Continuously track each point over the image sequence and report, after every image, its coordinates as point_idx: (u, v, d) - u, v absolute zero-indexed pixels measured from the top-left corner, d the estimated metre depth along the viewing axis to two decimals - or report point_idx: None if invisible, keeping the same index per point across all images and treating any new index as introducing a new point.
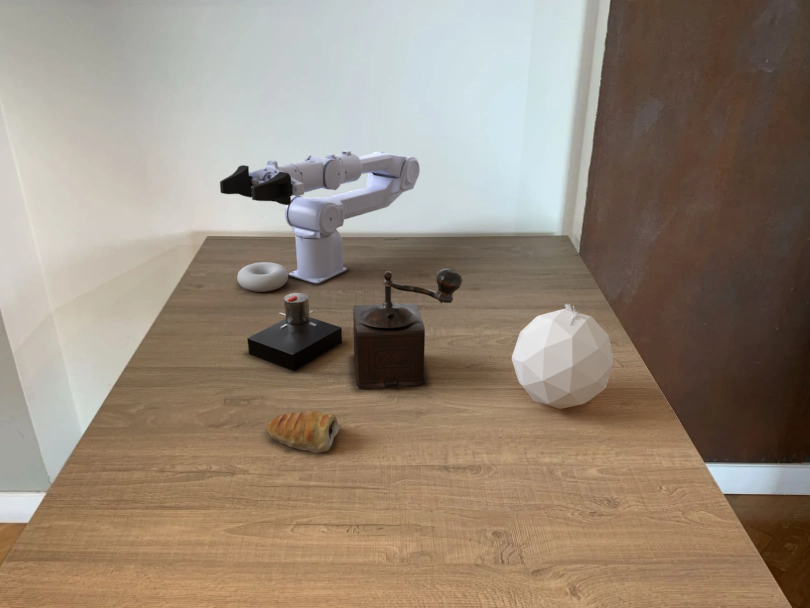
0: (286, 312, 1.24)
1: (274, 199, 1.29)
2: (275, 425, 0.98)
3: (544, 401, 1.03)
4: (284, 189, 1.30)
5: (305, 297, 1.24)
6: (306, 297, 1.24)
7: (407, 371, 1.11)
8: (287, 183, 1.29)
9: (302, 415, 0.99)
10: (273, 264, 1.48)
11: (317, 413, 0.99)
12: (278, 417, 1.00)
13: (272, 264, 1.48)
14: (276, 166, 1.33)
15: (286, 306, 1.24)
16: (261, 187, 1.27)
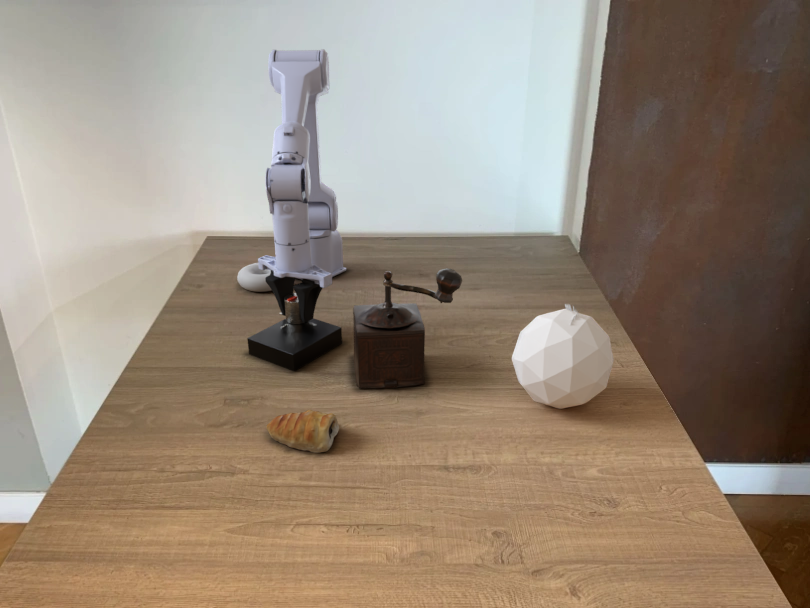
0: (286, 312, 1.24)
1: (317, 297, 1.23)
2: (275, 425, 0.98)
3: (544, 401, 1.03)
4: None
5: None
6: None
7: (407, 371, 1.11)
8: (310, 290, 1.20)
9: (302, 415, 0.99)
10: None
11: (317, 413, 0.99)
12: (278, 417, 1.00)
13: None
14: (285, 275, 1.19)
15: (286, 306, 1.24)
16: (305, 314, 1.23)
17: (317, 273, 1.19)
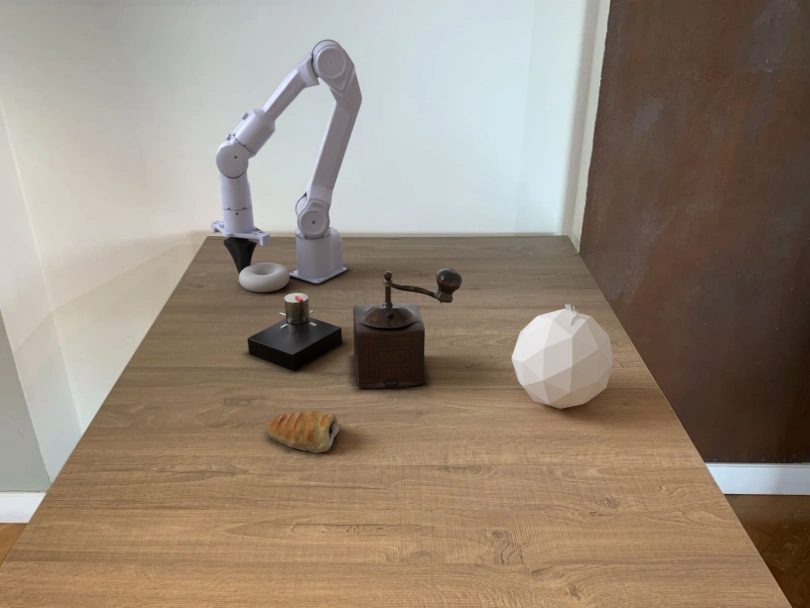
0: (298, 314, 1.24)
1: (252, 253, 1.48)
2: (275, 425, 0.98)
3: (544, 401, 1.03)
4: None
5: (300, 294, 1.25)
6: (300, 293, 1.26)
7: (407, 371, 1.11)
8: (245, 246, 1.45)
9: (302, 415, 0.99)
10: (275, 265, 1.48)
11: (317, 413, 0.99)
12: (278, 417, 1.00)
13: (274, 265, 1.48)
14: (231, 235, 1.43)
15: (299, 308, 1.23)
16: (242, 267, 1.48)
17: (258, 234, 1.43)
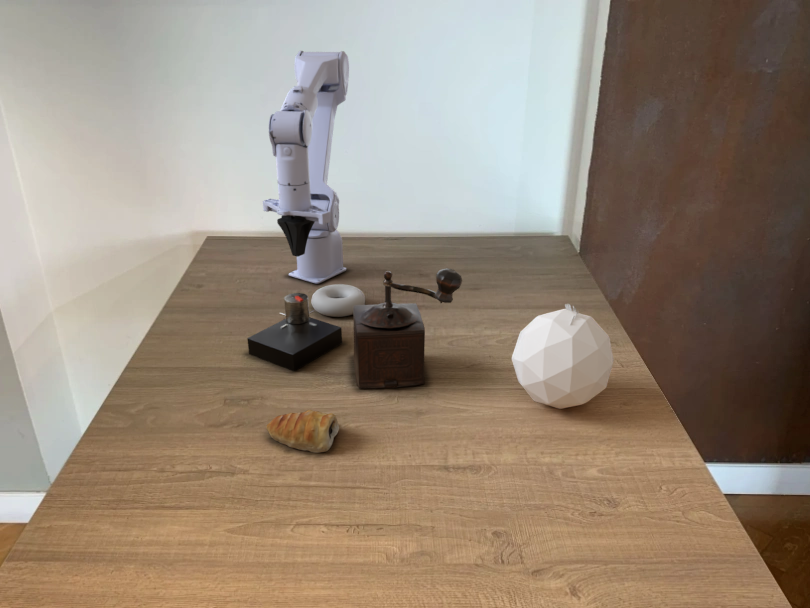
0: (298, 314, 1.24)
1: (308, 233, 1.37)
2: (275, 425, 0.98)
3: (544, 401, 1.03)
4: None
5: (300, 294, 1.25)
6: (300, 293, 1.26)
7: (407, 371, 1.11)
8: (302, 225, 1.33)
9: (302, 415, 0.99)
10: (350, 287, 1.37)
11: (317, 413, 0.99)
12: (278, 417, 1.00)
13: (348, 287, 1.38)
14: (288, 213, 1.31)
15: (299, 308, 1.23)
16: (297, 248, 1.37)
17: (316, 211, 1.31)
